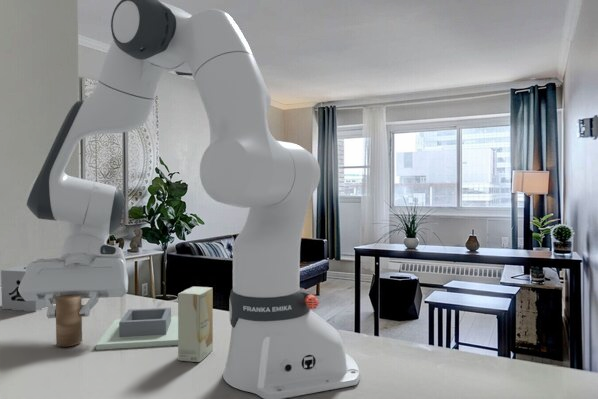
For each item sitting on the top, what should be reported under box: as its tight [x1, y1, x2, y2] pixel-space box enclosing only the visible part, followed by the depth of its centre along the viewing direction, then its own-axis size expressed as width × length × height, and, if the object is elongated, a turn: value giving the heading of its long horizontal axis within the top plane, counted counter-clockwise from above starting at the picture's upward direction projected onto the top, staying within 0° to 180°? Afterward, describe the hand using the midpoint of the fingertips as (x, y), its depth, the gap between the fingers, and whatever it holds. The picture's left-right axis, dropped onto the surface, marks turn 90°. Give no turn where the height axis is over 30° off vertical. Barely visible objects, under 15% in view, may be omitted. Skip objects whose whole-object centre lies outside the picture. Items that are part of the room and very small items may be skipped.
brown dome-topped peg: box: [55, 294, 83, 348], centre depth 86 cm, size 4×4×9 cm
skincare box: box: [177, 286, 214, 363], centre depth 81 cm, size 6×4×12 cm
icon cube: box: [0, 263, 56, 312], centre depth 114 cm, size 10×10×10 cm
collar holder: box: [95, 307, 178, 351], centre depth 93 cm, size 16×16×4 cm
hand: (67, 316), depth 86 cm, fingers closed on brown dome-topped peg, 4 cm apart
